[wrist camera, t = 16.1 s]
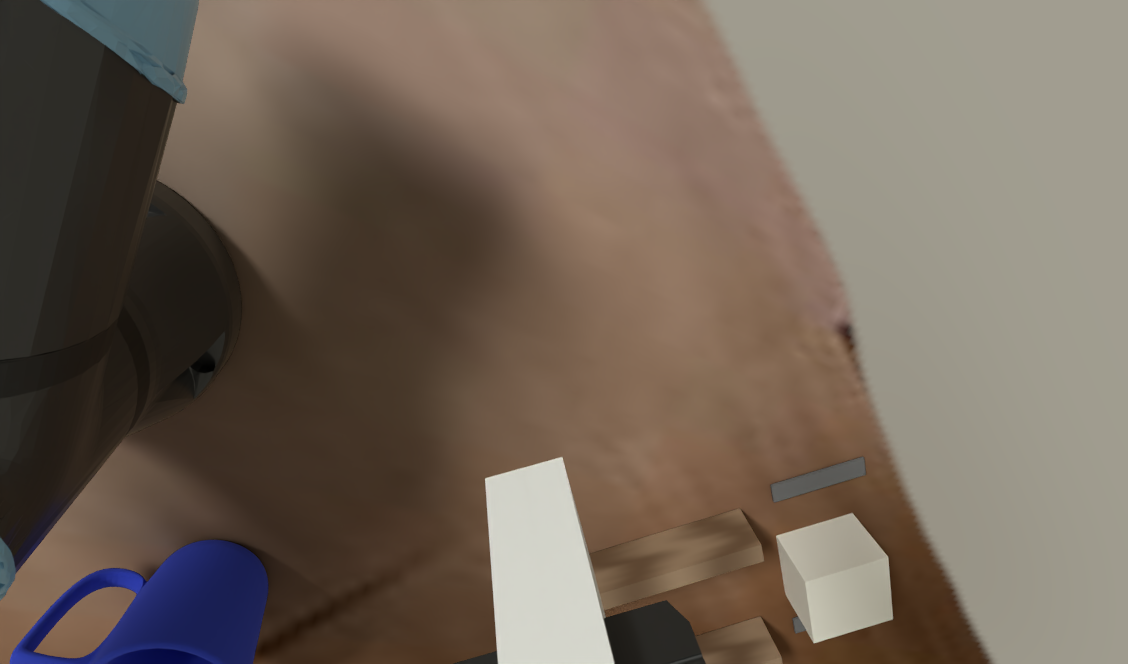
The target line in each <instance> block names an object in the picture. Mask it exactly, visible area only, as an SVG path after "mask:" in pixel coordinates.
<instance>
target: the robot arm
mask: <svg viewBox="0 0 1128 664" xmlns="http://www.w3.org/2000/svg"><path fill="white" fill-rule="evenodd" d="M198 4H199V0H0V600H1V599H2V598H3V597H4V596H5V595H6V592H7V590H8V588H9V587H10V586H11V584H12V582H13V581H14V579H15V574H16V573H17V571H18V570H19V569H20V568H21V566H22V565H23V564H24V563H25V561H26V560H27V559H28V558H29V556H30V555H31V554H32V553H33V551H34V550H35V549H36V548H37V546H38V545H39V544H40V543H41V541H42V540H43V539H44V538H45V536H46V535H47V534H48V533H49V531H50V530H51V529H52V528H53V526H54V525H55V524H56V523H57V521H58V520H59V519H60V518H61V516H62V515H63V514H64V513H65V511H66V510H67V509H68V508H69V506H70V505H71V504H72V503H73V501H74V500H75V499H76V498H77V496H78V495H79V494H80V493H81V491H82V490H83V489H84V488H85V486H86V485H87V484H88V483H89V481H90V480H91V479H92V478H93V476H94V475H95V474H96V473H97V471H98V470H99V469H100V468H101V466H102V465H103V464H104V463H105V461H106V460H107V459H108V458H109V456H110V455H111V454H112V453H113V451H114V450H115V449H116V448H117V446H118V445H119V444H120V443H121V441H122V440H123V439H124V438H125V437H126V436H129V435H131V434H133V433H135V432H137V431H140V430H142V429H144V428H146V427H149V426H151V425H153V424H155V423H158V422H160V421H162V420H164V419H166V418H168V417H170V416H172V415H174V414H176V413H178V412H179V411H181V410H182V409H184V408H185V407H187V406H188V405H189V404H191V403H192V402H193V401H194V400H196V399H197V398H198V397H199V396H200V395H201V394H202V393H203V392H204V391H205V390H206V389H207V388H208V387H209V386H210V384H211V383H212V382H213V380H214V379H215V378H216V376H217V375H218V373H219V372H220V370H221V369H222V368H223V366H224V365H225V363H226V362H227V360H228V358H229V357H230V355H231V353H232V351H233V348H234V346H235V343H236V341H237V338H238V334H239V330H240V324H241V314H242V303H241V293H240V287H239V282H238V279H237V275H236V272H235V269H234V266H233V264H232V261H231V259H230V257H229V255H228V253H227V251H226V249H225V247H224V245H223V244H222V242H221V241H220V239H219V237H218V236H217V234H216V233H215V232H214V230H213V229H212V228H211V226H210V225H209V224H208V223H207V222H206V220H205V219H204V218H203V217H202V216H201V215H200V214H199V213H198V212H197V211H196V210H195V209H194V208H193V207H192V206H191V205H190V204H189V203H188V202H186V201H185V200H184V199H183V198H181V197H180V196H179V195H178V194H176V193H175V192H173V191H172V190H171V189H169V188H168V187H166V186H165V185H163V184H161V183H160V182H158V181H156V180H157V176H158V173H159V169H160V165H161V161H162V158H163V154H164V150H165V146H166V142H167V139H168V135H169V131H170V127H171V124H172V120H173V116H174V112H175V108H176V105H177V103H182V104H184V103H185V100H186V96H187V88H186V87H185V85H184V83H183V77H184V72H185V67H186V63H187V58H188V53H189V48H190V44H191V39H192V34H193V30H194V25H195V20H196V15H197V11H198ZM485 485H486V499H487V513H488V528H489V542H490V556H491V571H492V585H493V599H494V613H495V628H496V642H497V651H496V652H492V653H489V654H485V655H482V656H478V657H475V658H471V659H468V660H464V661H461V662H457V663H454V664H706V663H705V660H704V659H703V656H702V653H701V650H700V648H699V645H698V642H697V640H696V637H695V635H694V632H693V630H692V627H691V625H690V622H689V621H688V620H687V619H685V618H684V617H683V616H682V615H681V614H680V613H679V612H678V611H677V610H676V609H675V608H674V607H673V606H672V605H671V604H670V603H669V602H668V601H667V600H665V601H662V602H659V603H655V604H652V605H648V606H645V607H641V608H638V609H634V610H631V611H627V612H624V613H620V614H617V615H613V616H610V617H605V613H604V609H603V605H602V601H601V597H600V594H599V590H598V586H597V582H596V578H595V574H594V570H593V566H592V563H591V559H590V555H589V552H588V548H587V545H586V541H585V537H584V534H583V530H582V527H581V523H580V519H579V516H578V512H577V509H576V505H575V501H574V498H573V494H572V491H571V487H570V483H569V480H568V476H567V473H566V469H565V465H564V462H563V458H562V457H560V458H557V459H553V460H550V461H546V462H542V463H539V464H535V465H532V466H528V467H524V468H521V469H517V470H514V471H510V472H506V473H503V474H499V475H496V476H492V477H489V478H485Z"/></svg>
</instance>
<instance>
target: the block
mask: <svg viewBox="0 0 1128 664" xmlns="http://www.w3.org/2000/svg"><path fill="white" fill-rule="evenodd" d="M776 538H777V545H778V551H779V557H780V563H781V570H782V576H783V582H784V588H785V594H786V596H787V598H788V599H789V601H790V603H791V605H792V606H793V608H794V610H795V612H796V613H797V615H798V617H799V619H800V620H801V622H802V624H803V625H804V627H805V629H806V631H807V632H808V634H809V636H810V638H811V639H812V641H813V643H817V642H820V641H823V640H826V639H830V638H833V637H836V636H840V635H843V634H846V633H850V632H853V631H856V630H859V629H863V628H866V627H869V626H873V625H876V624H879V623H882V622H886V621H889V620H892V619H893V613H892V599H891V586H890V573H889V559H888V556H887V555H886V554H885V552H884V551H883V550H882V549H881V547H880V546H879V545H878V544H877V543H876V541H875V540H874V539H873V538H872V536H871V535H870V534H869V533H868V532H867V530H866V529H865V528H864V527H863V525H862V524H861V523H860V522H859V520H858V519H857V518H856V517H855V516H854V514H853V513H851V514H847V515H844V516H841V517H837V518H834V519H831V520H827V521H824V522H821V523H817V524H814V525H811V526H807V527H804V528H801V529H797V530H794V531H791V532H787V533H784V534H781V535H777V536H776Z"/></svg>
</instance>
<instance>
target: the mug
mask: <svg viewBox="0 0 1128 664" xmlns="http://www.w3.org/2000/svg"><path fill="white" fill-rule="evenodd" d="M105 587H123V588H127V589H130V590H132V591H134V592H135V593H136V594H137V595H136V597H135V599H134V600H133V602H132V603H131V605H130V606H129V608H128V609H127V611H126V612H125V614H124V615H123V617H122V618H121V619H120V621H119V622H118V624H117V625H116V626H115V628H114V629H113V630H112V631H111V633H110V634H109V635H108V637H107V638H106V639H105V640H104V641H103V642H102V643H101V645H100V646H99V647H98V648H97V649H95V650H94V651H93V652H92V653H90V654H89V655H87V656H84V657H81V658H62V657H54V656H48V655H44V654H40V653H36V652H33V651H34V650H35V649H36V648H37V646H38V645H39V644H40V643H41V641H42V640H43V639H44V638H45V636H46V635H47V634H48V633H49V631H50V630H51V629H52V628H53V627H54V626H55V624H56V623H57V622H58V621H59V620H60V619H61V618H62V617H63V616H64V615H65V614H66V613H67V611H68V610H69V609H71V608H72V607H73V606H74V605H75V604H76V603H77V602H78V601H80V600H81V599H82V598H83V597H85V596H86V595H88V594H90V593H91V592H94V591H96V590H98V589H101V588H105ZM267 596H268V578H267V574H266V571H265V568H264V566H263V564H262V563H261V561H260V560H259V559H258V558H257V557H256V556H255V555H254V554H253V553H252V552H251V551H249V550H248V549H246V548H244V547H242V546H240V545H238V544H235V543H232V542H229V541H223V540H203V541H198V542H194V543H191V544H188V545H186V546H184V547H182V548H180V549H179V550H177V551H176V552H174V553H173V554H172V555H171V556H169V557H168V558H167V559H166V561H165V562H164V563H163V564H162V565H161V566H160V567H159V568H158V570H157V571H156V572H155V573H154V575H153V576H152V577H151V578H150V579H149V581H148V582H146V580H145V579H144V578H143V577H142V576H141V575H140V574H138V573H136V572H134V571H131V570H127V569H121V568H109V569H103V570H99V571H96V572H94V573H92V574H89V575H88V576H86V577H84V578H83V579H81V580H80V581H78V582H77V583H76V584H74V585H73V586H72V587H71V588H70V589H68V590H67V591H66V592H65V593H64V594H63V595H62V596H61V597H60V598H59V599H58V600H57V601H56V602H55V603H54V604H53V605H52V606H51V607H50V608H49V609H48V610H47V611H46V613H45V614H44V615H43V616H42V617H41V618H40V619H39V620H38V621H37V623H36V624H35V625H34V626H33V627H32V629H31V630H30V631H29V632H28V633H27V634H26V636H25V637H24V638H23V639H22V640H21V642H20V643H19V644H18V645H17V647H16V648H15V649H14V651H13V653H12V655H11V658H10V664H253V660H254V655H255V651H256V646H257V642H258V637H259V633H260V628H261V624H262V619H263V615H264V610H265V606H266V601H267Z"/></svg>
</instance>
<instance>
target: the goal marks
mask: <svg viewBox="0 0 1128 664" xmlns="http://www.w3.org/2000/svg"><path fill="white" fill-rule="evenodd" d="M863 475H866V472H865V461H864V457H860V458H857V459H853V460H850V461H847V462H843V463H840V464H837V465H834V466H830V467H827V468H824V469H820V470H817V471H814V472H810V473H807V474H804V475H801V476H797V477H794V478H791V479H787V480H784V481H781V482H778V483H774V484H771V485H770V486H771V492H772V498H773V502H774V503H775V502H778V501H781V500H784V499H788V498H791V497H794V496H798V495H801V494H804V493H807V492H811V491H814V490H817V489H821V488H824V487H827V486H830V485H834V484H837V483H840V482H844V481H847V480H850V479H853V478H857V477H860V476H863ZM793 624H794V630H795V633H799V632H802V631H805V630H806V629H805V627H804V625H803V624H802V622H801V620H800V619H799V617H795V618H793Z"/></svg>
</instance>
